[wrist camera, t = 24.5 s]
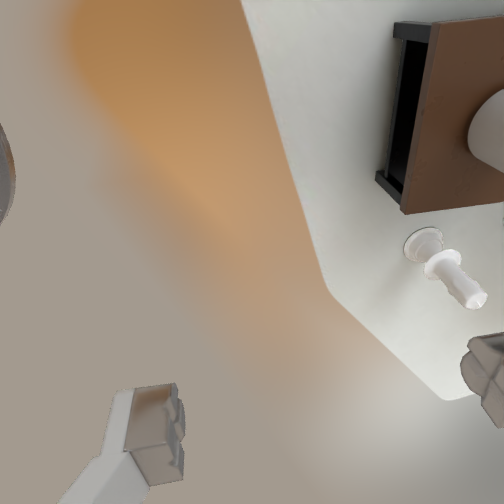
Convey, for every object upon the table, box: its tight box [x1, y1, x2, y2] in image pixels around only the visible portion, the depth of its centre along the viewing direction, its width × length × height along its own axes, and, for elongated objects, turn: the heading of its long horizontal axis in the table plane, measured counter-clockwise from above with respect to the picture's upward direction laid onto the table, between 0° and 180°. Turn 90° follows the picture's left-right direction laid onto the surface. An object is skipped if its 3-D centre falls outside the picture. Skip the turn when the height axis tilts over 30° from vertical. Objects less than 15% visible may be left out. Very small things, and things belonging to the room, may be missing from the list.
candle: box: [404, 227, 487, 310], centre depth 43 cm, size 5×5×12 cm
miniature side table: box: [375, 15, 504, 215], centre depth 33 cm, size 14×16×10 cm
